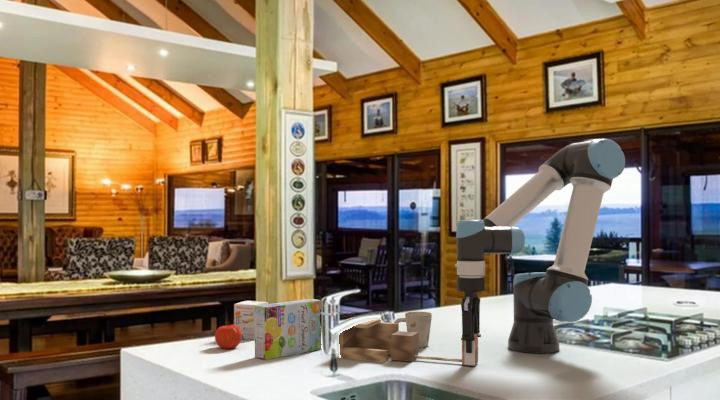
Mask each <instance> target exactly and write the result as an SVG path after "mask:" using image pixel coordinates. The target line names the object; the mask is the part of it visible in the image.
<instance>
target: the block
mask: <svg viewBox="0 0 720 400" xmlns="http://www.w3.org/2000/svg"><path fill="white" fill-rule="evenodd" d="M477 338H478V337H477V334H475V333H474V340H475V365H469V366H473V367H475V366H477V365H478V363H479V341H478V342H477ZM390 356H391V357H390V358H391V359H390V360H391V361H401V362H413V361H415V360H417V359H418V360H419V359H420V360H429V361H443V362H453V363H454V362H456V363H461V365H462V366H465V365H464V340H461V358H451V357H440V356H430V355H429V356H427V355H419V347H418V332H407V331H401V330H399V331H397V332H395V333H393V334H392V335H391V355H390Z"/></svg>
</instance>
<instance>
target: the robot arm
mask: <svg viewBox="0 0 720 400" xmlns="http://www.w3.org/2000/svg"><path fill="white" fill-rule="evenodd" d="M625 157H626V156H625V154H624V151H622V148H621V146H620V145H619V144H618V143H617V142H616V141H614V140H612V139H609V138H595V139H592V140H587V141H582V142H574V143H570V144H568V145H565V147H563V148H561V149H559V150H558V151H556V152H555V153H554V154H553V155H552V156H551V157H549V158H548V159H547V160H546V161H544V162H543V163H542V164H541V165H540V166H539V167H538V172H536V173H535V174H534V175H533V176H532V177H531V178H530V179H528V180H527V181H526V182H525V183H524V184H523V185H521V186H520V187H519V188H518V189H517V190H516V191H514V192H513V193H512V194H511V195H509V197H507V198H506V199H505V200H504V201H502V203H501V204H499V205H498V206H497V207H496V208H494V210H492V211H491V212H490V213H489V214H488V215H487V216H485V217H484V218H483V219H460V220H458V222H457V223H456V234H455V238H456V260H457V261H456V263H455V264H454V267H455V268H456V275H457V278H456V289H457V291H459V292H464V294H463V298H462V302H461V303H460V306H461V332H462V335H461V338H460V340H461V341H462V340H464V365H463V366H470V365H475V340H474V333H475V334H477V342H478V343H479V338H481V337H482V334H481V333H480V332H481V331H480V327H481V325H480V321H481V320H480V318H481V317H480V311H481V310H480V309H481V308H480V307H481V305H480V304H481V297H479V294H478V293H481V292H484V291H485V290H486V279H485V277H484V276H485V275H486V261H485V257H486V256H485V255H507V254H509V255H512V254H520V253H521V252H522V251H523V250H524V248H525V244H526V242H525V241H526V236H525V234H524V231H523V229H521V228H520V227H517V226H516V225H517V224H518V223H519V222H520V221H521V220H523V219H524V218H525V217H526V216H527V215H528V214H529V213H531V212H532V211H533V210H535V209H536V207H537V206H540V204H541V203H542V202H544V200H545V199H547V198H548V197H549V196H550V195H552V193H553V192H555V191H561V190H562V189H563V188H564V187H566V186H567V185H569V184H571V185H572V192H571V196H570V200H569V203H568V207H567V211H566V215H565V218H564V223H563V226H562V231H561V234H560V239H559V243H558V247H557V250H556V254H555V258H554V262H553V264H552V266H549V267H548V268H547V269H546V272H544V271H543V272H524V273H517V274H516V275H514V277H513V283H512V289H513V290H512V291H513V323H512V327H511V329H510V333H509V337H508V339H507V340H508V341H507V348H508V349H509V350H513V351H515V352H516V351H517V352H523V353H532V354H547V353H548V354H549V353H556V352H558V351H560V341H559V338H558V335H557V332H556V328H555V326H554V320H555V321H558V322H560V323H564V322H565V323H575V322H578V321H579V320H581V319H583V318H584V317H585V316H586V315H588V313H589V312H590V309H591V307H592V302H593V297H592V296H593V295H592V294H591V290H590V288H589V286H588V282H589V278H588V276H587V275H586V272H585V271H586V266H587V264H588V259H589V255H590V251H591V246H592V242H593V238H594V234H595V230H596V227H597V222H598V219H599V218H598V217H599V213H600V210H601V205H602V201H603V197H604V193H607V192H608V191H610V190H611V187H612V184H613V181H614V180H613V179H616V178H617V177H619V176H620V175H622V174H623V172H624V169H625V168H626V167H625V166H626V158H625ZM475 366H476V365H475Z"/></svg>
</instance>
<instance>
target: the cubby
mask: <svg viewBox="0 0 720 400" xmlns="http://www.w3.org/2000/svg"><path fill="white" fill-rule="evenodd" d="M352 318H355V317H354V316H353V317H349V318H346V319H345V320H349V319H352ZM376 319H377V320H371V321H368V322H365V323H361V324H358V325H356V326H353V327H352V328H350V329H348V330H345V331H343V332H342V333H340V335H339V344H340V355H341V358H340V359H344V358H345V359H346V360H356V361H357V360H358V361H368V362H369V361H370V362H378V363H387V362H388V361H389V356H391V335H392V334H393V333H395V332H397V331H400V330H399V327H400V326H399V325H400V322H399V323H394V322H383V321H382V319H381V318H376ZM380 319H381V320H380ZM345 320H343V321H345Z"/></svg>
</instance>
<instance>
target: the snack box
mask: <svg viewBox="0 0 720 400" xmlns="http://www.w3.org/2000/svg"><path fill="white" fill-rule="evenodd" d="M320 310H321V311H322V300H320V299H315V298H309V299H308V298H307V299H300V300H292V301H291V300H290V301H283V302H276V303H268V304H266V305H258V306H255V307H254V313H255V340H254V357H255V358H256V357H257V359H260V358H261V359H262V360H265V359H267V360H272V359H277V358H282V357H287V356H293V355H297V354H303V353H309V352H314V351H319V350H322V349H321V345H322V346H323V343H322V344H321V332H322V327H321V328H320ZM271 358H272V359H271ZM261 359H260V360H261Z"/></svg>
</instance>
